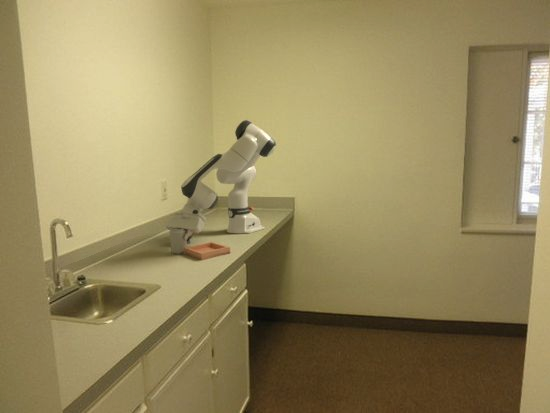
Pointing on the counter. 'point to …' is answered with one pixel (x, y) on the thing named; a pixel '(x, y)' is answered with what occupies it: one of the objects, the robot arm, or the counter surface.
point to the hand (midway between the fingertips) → (177, 238)
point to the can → (177, 240)
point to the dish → (206, 250)
